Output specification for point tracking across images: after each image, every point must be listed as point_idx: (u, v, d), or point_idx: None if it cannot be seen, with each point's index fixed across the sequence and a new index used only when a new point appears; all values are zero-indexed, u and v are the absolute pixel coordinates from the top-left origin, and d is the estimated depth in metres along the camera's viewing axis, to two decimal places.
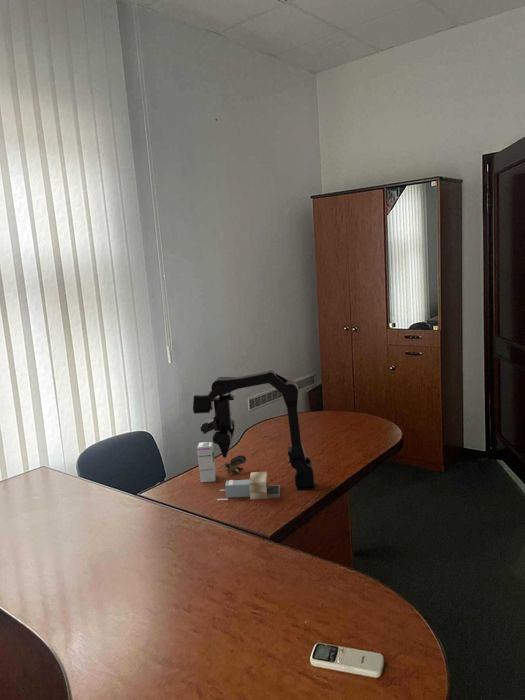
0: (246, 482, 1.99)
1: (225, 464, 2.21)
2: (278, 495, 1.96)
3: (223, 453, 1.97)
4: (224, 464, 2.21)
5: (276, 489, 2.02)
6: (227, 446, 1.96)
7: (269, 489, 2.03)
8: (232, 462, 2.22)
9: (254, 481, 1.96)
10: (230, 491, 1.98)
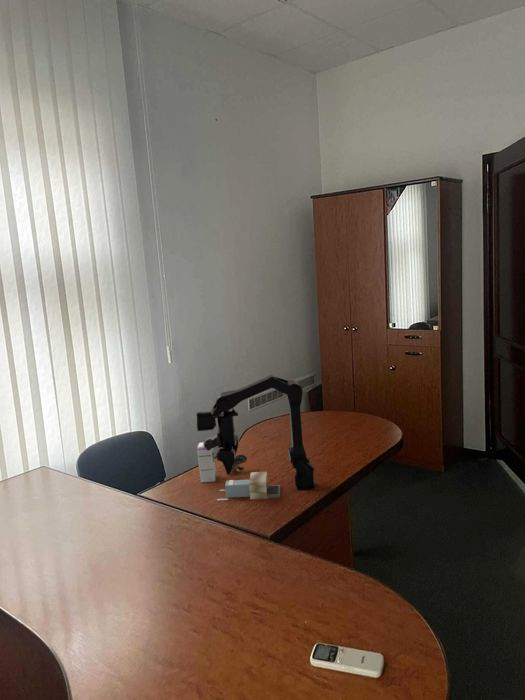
0: (246, 482, 1.99)
1: None
2: (278, 495, 1.96)
3: (227, 470, 1.94)
4: None
5: (276, 489, 2.02)
6: (231, 463, 1.93)
7: (269, 489, 2.03)
8: None
9: (254, 481, 1.96)
10: (230, 491, 1.98)
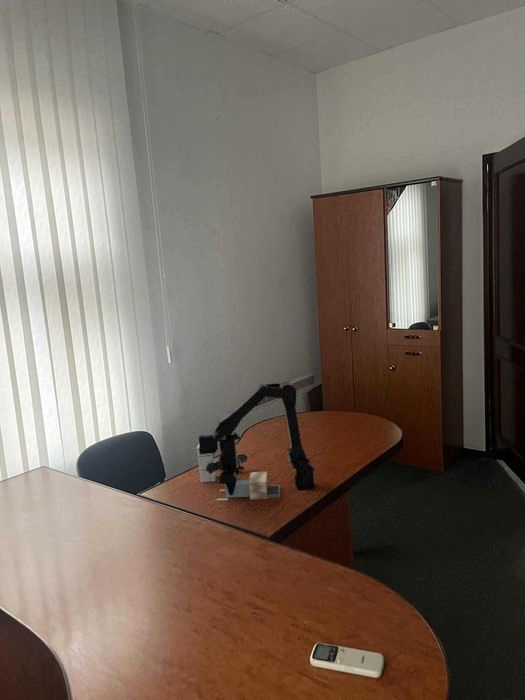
0: (246, 482, 1.99)
1: None
2: (278, 495, 1.96)
3: (229, 491, 1.98)
4: None
5: (276, 489, 2.02)
6: (233, 484, 1.96)
7: (269, 489, 2.03)
8: None
9: (254, 481, 1.96)
10: None
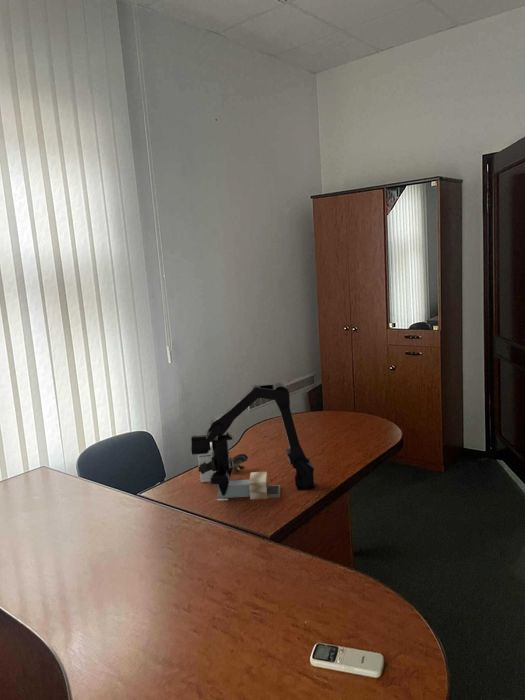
0: (238, 483, 2.00)
1: None
2: (278, 495, 1.96)
3: (222, 491, 1.98)
4: None
5: (276, 489, 2.02)
6: (226, 484, 1.96)
7: (269, 489, 2.03)
8: (234, 460, 2.23)
9: (254, 481, 1.96)
10: None
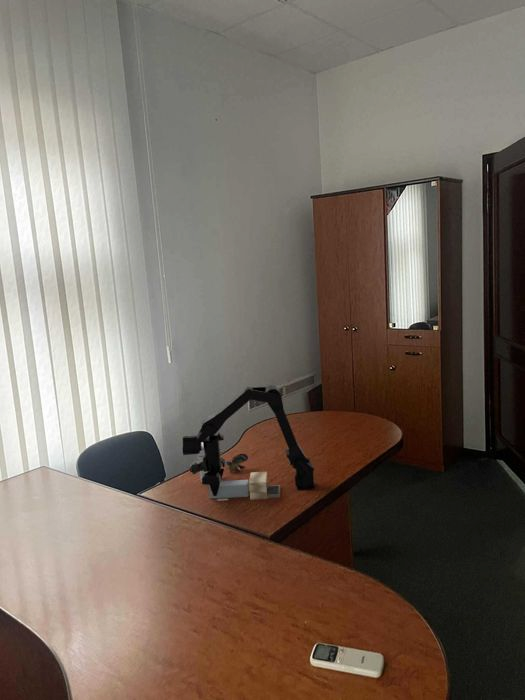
0: (230, 483, 2.00)
1: (227, 462, 2.23)
2: (278, 495, 1.96)
3: (213, 492, 1.98)
4: (226, 462, 2.23)
5: (276, 489, 2.02)
6: (217, 485, 1.96)
7: (269, 489, 2.03)
8: (234, 460, 2.24)
9: (254, 481, 1.96)
10: None
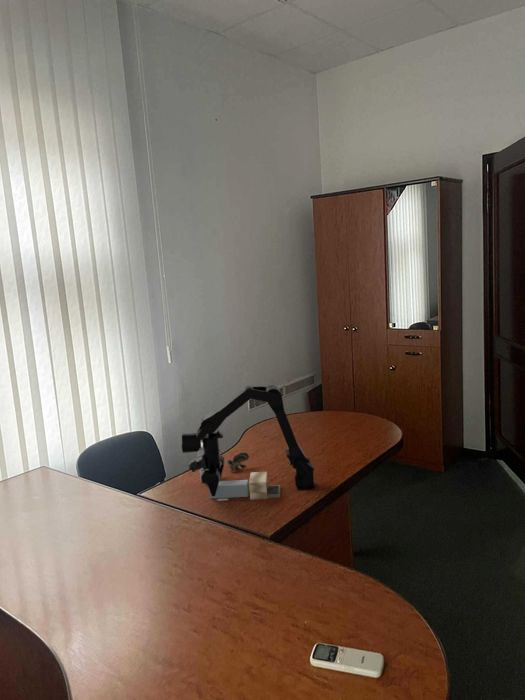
0: (229, 483, 2.00)
1: (228, 461, 2.24)
2: (278, 495, 1.96)
3: (212, 492, 1.96)
4: (227, 461, 2.24)
5: (276, 489, 2.02)
6: (216, 485, 1.94)
7: (269, 489, 2.03)
8: (235, 459, 2.25)
9: (254, 481, 1.96)
10: None
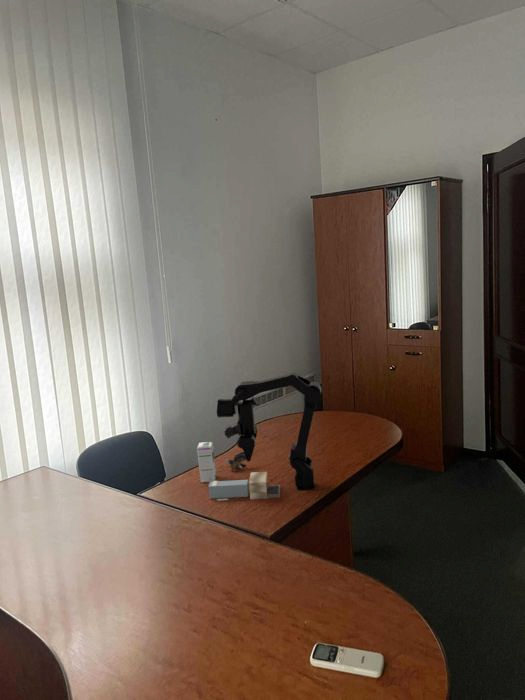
0: (229, 483, 2.00)
1: (229, 460, 2.25)
2: (278, 495, 1.96)
3: (247, 457, 1.99)
4: (228, 460, 2.25)
5: (276, 489, 2.02)
6: (251, 450, 1.98)
7: (269, 489, 2.03)
8: (236, 458, 2.26)
9: (254, 481, 1.96)
10: (214, 492, 1.99)
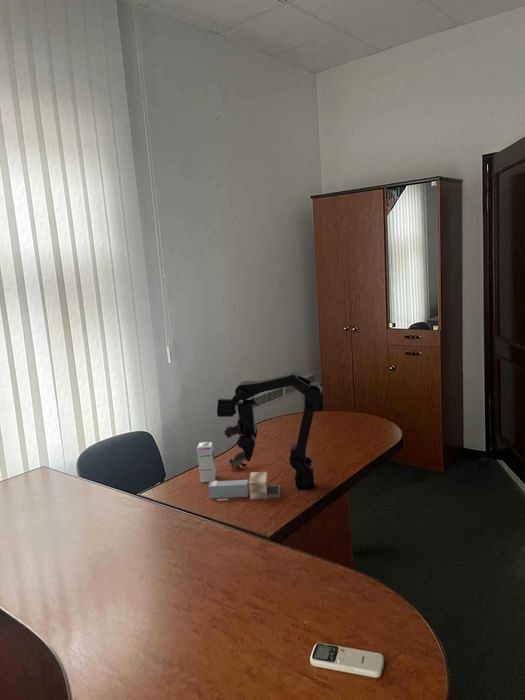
0: (229, 483, 2.00)
1: (229, 460, 2.25)
2: (278, 495, 1.96)
3: (247, 457, 1.99)
4: (228, 460, 2.25)
5: (276, 489, 2.02)
6: (251, 450, 1.98)
7: (269, 489, 2.03)
8: (236, 458, 2.26)
9: (254, 481, 1.96)
10: (214, 492, 1.99)
